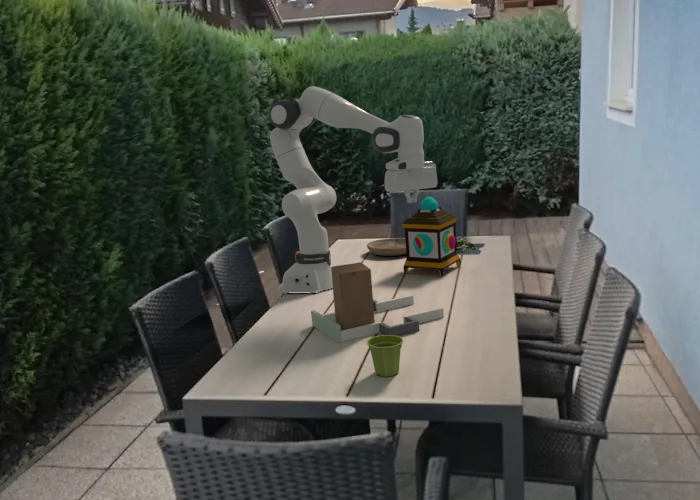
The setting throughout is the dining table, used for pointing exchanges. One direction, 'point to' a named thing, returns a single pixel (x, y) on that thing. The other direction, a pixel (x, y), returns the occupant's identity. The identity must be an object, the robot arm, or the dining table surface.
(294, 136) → the robot arm
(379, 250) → the ceramic bowl
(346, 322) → the wooden block
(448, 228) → the decorative lantern
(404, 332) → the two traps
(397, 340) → the plant pot
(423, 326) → the dining table surface
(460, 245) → the plated dish
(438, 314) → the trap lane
